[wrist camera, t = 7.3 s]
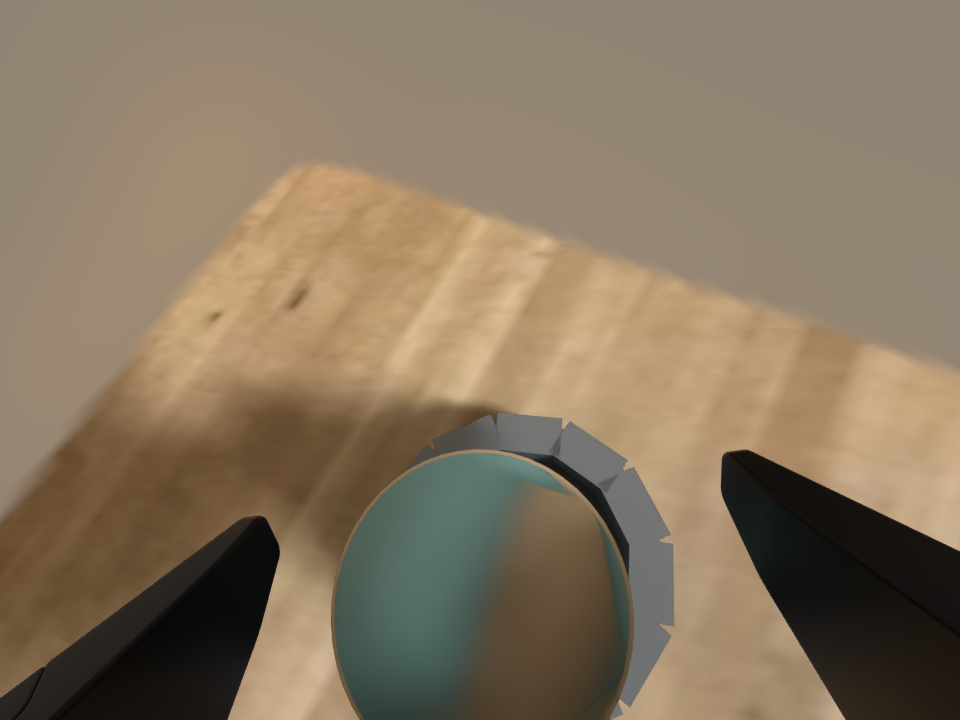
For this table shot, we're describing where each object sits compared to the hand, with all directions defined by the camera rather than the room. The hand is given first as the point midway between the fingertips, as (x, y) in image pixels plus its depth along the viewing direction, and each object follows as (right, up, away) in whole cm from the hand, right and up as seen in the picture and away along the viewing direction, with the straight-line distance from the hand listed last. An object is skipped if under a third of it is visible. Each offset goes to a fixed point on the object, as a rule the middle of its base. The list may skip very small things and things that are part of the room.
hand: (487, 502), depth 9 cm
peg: (+1, -4, +6) cm, 8 cm away
